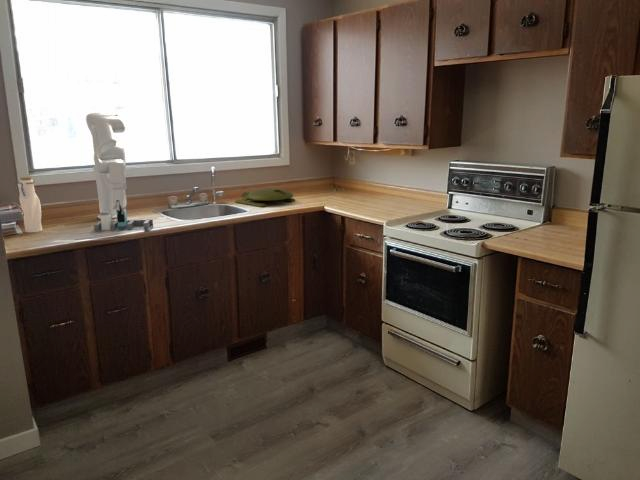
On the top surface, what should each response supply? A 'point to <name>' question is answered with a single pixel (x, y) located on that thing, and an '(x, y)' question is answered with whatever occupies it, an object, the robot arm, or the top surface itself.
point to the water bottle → (30, 205)
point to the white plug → (105, 220)
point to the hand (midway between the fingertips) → (122, 220)
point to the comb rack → (131, 225)
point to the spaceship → (265, 196)
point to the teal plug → (124, 218)
